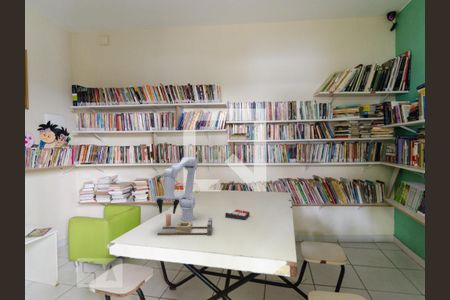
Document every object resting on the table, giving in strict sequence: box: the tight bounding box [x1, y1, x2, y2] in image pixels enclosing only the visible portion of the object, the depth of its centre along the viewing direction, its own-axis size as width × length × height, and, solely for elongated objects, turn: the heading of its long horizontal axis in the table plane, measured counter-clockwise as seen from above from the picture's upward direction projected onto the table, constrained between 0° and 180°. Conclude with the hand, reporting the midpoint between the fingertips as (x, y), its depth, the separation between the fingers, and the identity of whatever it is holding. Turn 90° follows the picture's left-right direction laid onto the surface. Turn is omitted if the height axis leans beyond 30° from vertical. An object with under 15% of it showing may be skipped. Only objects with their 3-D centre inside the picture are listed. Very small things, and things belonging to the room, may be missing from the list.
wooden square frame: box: [175, 221, 193, 233], centre depth 121 cm, size 8×8×4 cm
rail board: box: [157, 217, 213, 237], centre depth 121 cm, size 12×30×7 cm, turn 90°
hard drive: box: [224, 208, 250, 221], centre depth 151 cm, size 11×4×15 cm
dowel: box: [165, 213, 172, 227], centre depth 131 cm, size 3×3×8 cm
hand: (167, 213), depth 118 cm, fingers open, 7 cm apart
